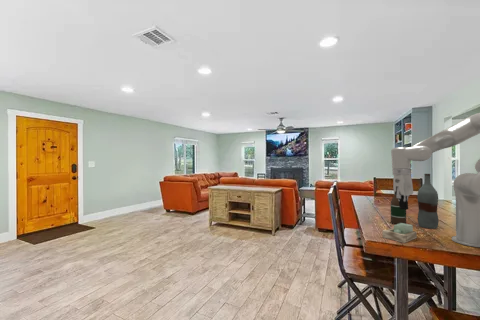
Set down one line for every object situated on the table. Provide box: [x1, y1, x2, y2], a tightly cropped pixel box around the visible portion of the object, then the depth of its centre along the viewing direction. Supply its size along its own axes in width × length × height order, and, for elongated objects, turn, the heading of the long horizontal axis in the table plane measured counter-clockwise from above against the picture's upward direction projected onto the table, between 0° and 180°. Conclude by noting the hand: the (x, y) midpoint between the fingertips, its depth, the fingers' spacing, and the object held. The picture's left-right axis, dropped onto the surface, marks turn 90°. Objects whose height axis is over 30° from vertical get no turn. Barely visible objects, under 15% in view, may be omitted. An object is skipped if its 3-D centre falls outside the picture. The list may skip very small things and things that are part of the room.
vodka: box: [416, 173, 440, 230], centre depth 131 cm, size 9×9×30 cm
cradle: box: [382, 227, 418, 244], centre depth 113 cm, size 10×13×3 cm
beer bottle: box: [390, 193, 407, 225], centre depth 137 cm, size 8×8×24 cm
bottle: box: [393, 223, 414, 234], centre depth 114 cm, size 5×5×12 cm
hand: (403, 209), depth 114 cm, fingers closed
